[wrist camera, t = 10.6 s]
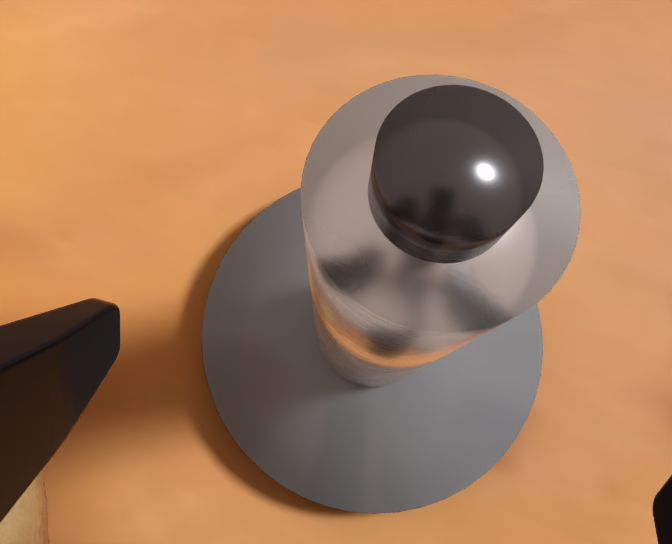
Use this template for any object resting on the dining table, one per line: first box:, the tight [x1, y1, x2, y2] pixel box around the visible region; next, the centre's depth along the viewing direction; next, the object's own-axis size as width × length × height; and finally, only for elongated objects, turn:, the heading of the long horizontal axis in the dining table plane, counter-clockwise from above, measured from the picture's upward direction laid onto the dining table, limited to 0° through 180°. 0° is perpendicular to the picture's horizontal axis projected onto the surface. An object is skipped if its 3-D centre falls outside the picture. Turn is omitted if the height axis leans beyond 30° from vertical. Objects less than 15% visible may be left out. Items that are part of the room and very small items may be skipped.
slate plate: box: [202, 188, 543, 514], centre depth 21 cm, size 14×14×1 cm
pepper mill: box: [301, 75, 581, 387], centre depth 14 cm, size 5×5×14 cm
